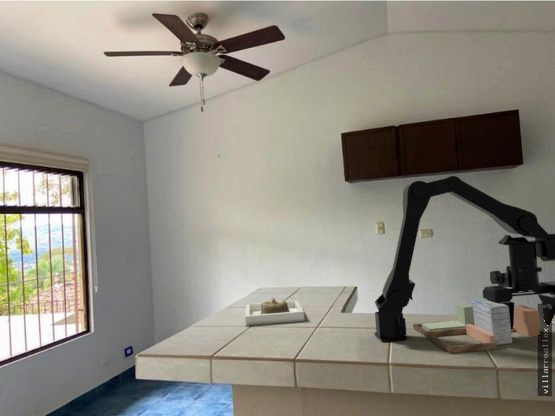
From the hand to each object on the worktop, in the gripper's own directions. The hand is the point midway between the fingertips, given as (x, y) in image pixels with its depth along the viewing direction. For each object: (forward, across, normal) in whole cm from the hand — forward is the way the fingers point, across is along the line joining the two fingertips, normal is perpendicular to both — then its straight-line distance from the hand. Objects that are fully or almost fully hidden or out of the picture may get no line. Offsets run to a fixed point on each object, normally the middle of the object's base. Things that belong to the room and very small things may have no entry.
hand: (528, 327), depth 96 cm
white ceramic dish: (+2, +60, -38) cm, 71 cm away
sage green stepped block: (+2, +16, -8) cm, 18 cm away
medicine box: (+2, +10, +2) cm, 10 cm away
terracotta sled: (+2, +6, +1) cm, 6 cm away
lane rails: (+2, +18, -2) cm, 18 cm away
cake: (+1, +60, -40) cm, 72 cm away
